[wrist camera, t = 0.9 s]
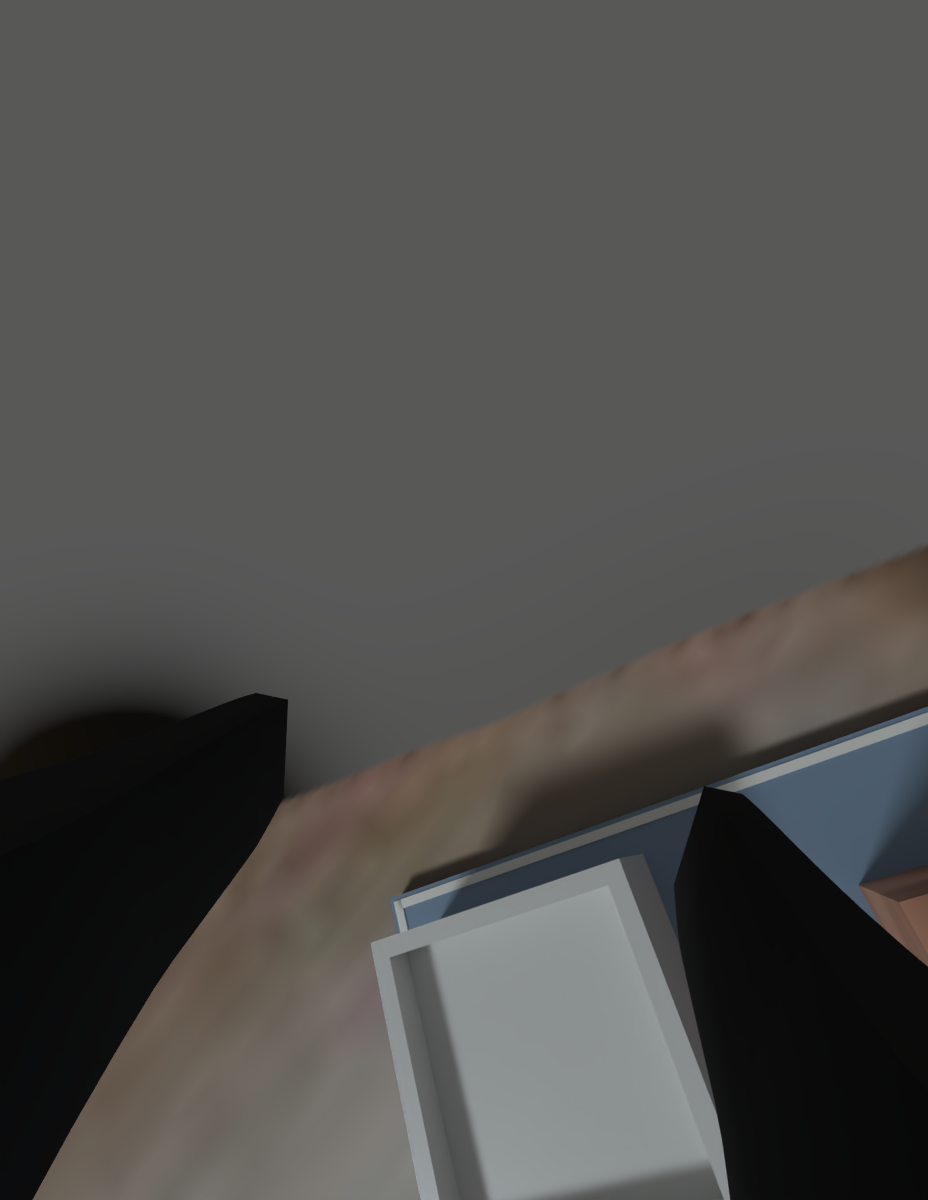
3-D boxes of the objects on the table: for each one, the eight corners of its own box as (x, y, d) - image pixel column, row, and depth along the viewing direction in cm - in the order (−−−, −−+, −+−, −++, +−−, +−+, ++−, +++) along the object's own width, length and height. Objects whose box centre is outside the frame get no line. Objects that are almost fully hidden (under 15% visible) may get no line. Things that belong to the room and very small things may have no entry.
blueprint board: (1051, 664, 18) (1064, 657, 17) (1429, 1138, 13) (1470, 1156, 12) (400, 896, 23) (389, 898, 22) (489, 1297, 18) (478, 1317, 17)
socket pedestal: (642, 853, 19) (619, 858, 16) (761, 1148, 16) (768, 1248, 12) (437, 923, 21) (370, 942, 17) (505, 1202, 18) (441, 1304, 14)
